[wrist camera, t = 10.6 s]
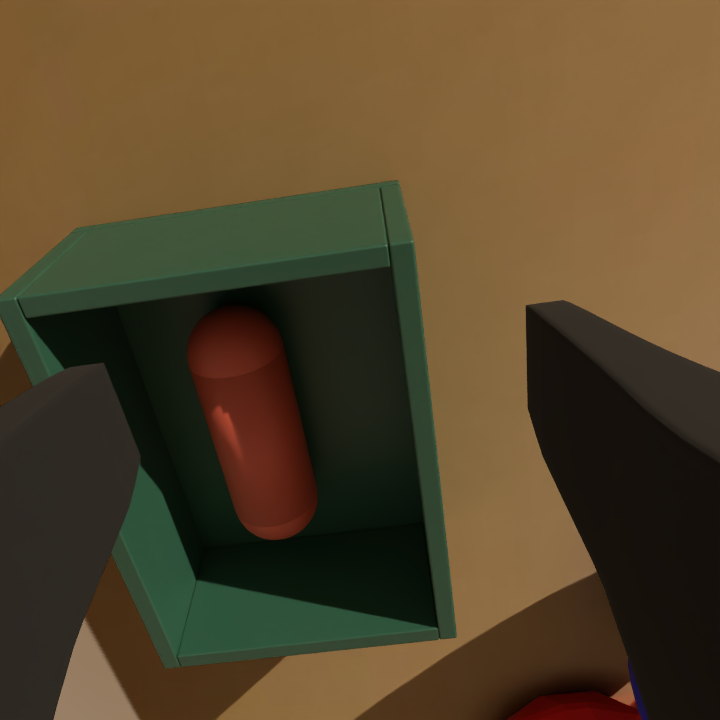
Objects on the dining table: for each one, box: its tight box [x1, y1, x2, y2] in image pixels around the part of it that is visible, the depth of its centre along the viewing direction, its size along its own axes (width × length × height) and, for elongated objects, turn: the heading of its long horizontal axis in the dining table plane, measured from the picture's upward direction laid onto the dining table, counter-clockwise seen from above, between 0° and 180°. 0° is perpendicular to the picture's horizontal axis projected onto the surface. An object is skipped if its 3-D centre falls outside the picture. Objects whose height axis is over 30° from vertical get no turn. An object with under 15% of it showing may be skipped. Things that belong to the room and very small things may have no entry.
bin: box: [0, 180, 457, 669], centre depth 21 cm, size 10×14×6 cm
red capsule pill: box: [187, 305, 318, 540], centre depth 22 cm, size 9×3×3 cm, turn 8°
